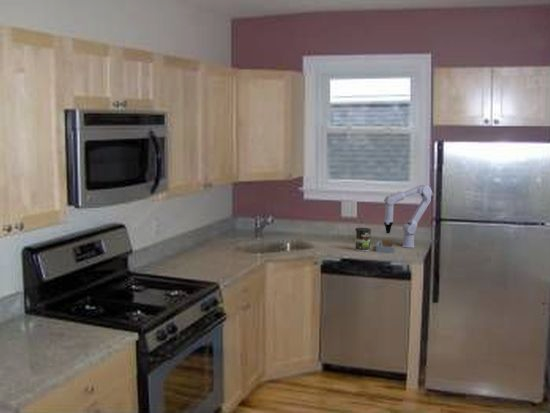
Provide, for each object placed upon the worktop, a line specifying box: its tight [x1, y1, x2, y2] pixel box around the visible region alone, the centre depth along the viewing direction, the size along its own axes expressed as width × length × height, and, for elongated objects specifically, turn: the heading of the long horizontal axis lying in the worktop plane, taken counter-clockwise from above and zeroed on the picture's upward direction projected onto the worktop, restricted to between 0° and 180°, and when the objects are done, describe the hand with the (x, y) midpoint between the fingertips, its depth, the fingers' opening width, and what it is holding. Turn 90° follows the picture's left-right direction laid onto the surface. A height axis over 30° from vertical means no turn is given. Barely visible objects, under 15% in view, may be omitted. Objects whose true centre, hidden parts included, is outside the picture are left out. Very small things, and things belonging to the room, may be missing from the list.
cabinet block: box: [381, 239, 393, 247], centre depth 420 cm, size 4×6×6 cm
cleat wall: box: [375, 240, 395, 254], centre depth 417 cm, size 18×12×4 cm, turn 164°
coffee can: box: [354, 227, 372, 252], centre depth 415 cm, size 10×10×14 cm
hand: (388, 233), depth 426 cm, fingers closed
